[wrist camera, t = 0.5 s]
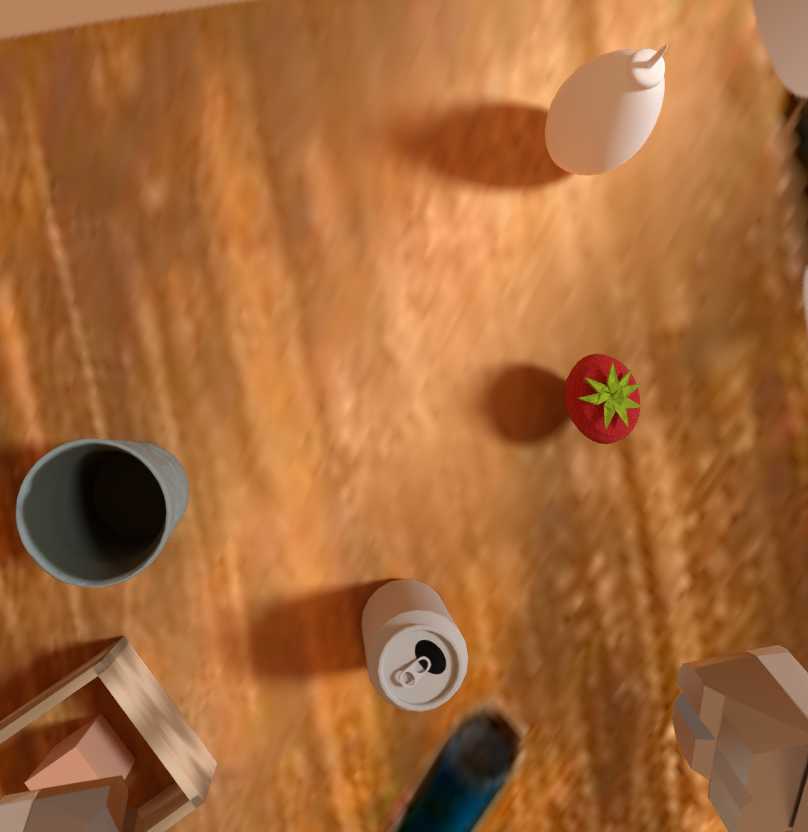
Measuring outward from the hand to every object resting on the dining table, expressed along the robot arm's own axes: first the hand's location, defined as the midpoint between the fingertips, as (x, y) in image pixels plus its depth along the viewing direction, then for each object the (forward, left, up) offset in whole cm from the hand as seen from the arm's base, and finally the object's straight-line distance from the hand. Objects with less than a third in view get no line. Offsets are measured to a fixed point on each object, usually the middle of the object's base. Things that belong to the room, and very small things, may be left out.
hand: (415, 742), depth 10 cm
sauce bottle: (+12, -33, -51) cm, 62 cm away
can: (-14, +3, -51) cm, 53 cm away
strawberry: (-7, -21, -51) cm, 56 cm away
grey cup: (+8, +15, -51) cm, 54 cm away
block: (-8, +31, -51) cm, 60 cm away
